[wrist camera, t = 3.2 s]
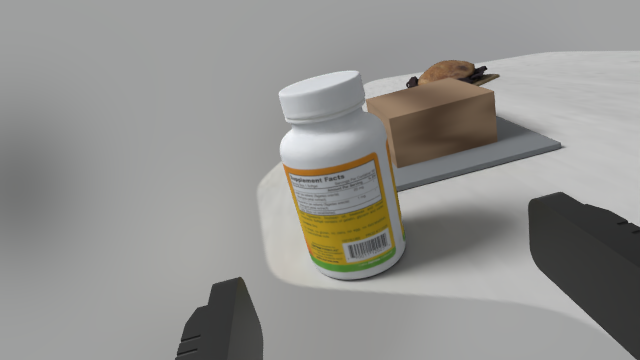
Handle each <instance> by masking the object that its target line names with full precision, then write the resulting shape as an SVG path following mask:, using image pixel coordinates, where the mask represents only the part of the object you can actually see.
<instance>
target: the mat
mask: <svg viewBox="0 0 640 360" xmlns="http://www.w3.org/2000/svg"><path fill="white" fill-rule="evenodd" d="M496 126H497V140H498V142H496V143H492V144H488V145H484V146H481V147H477V148H473V149H469V150H466V151H462V152H458V153H454V154H450V155H447V156H443V157H439V158H435V159H432V160H428V161H424V162H420V163H416V164H413V165H409V166H405V167H401V168H397V167H396V166H395V165H394V164H393V162H392V167H393V172H394V178H395V184H396V189H397V191H401V190H405V189H409V188H413V187H416V186H420V185H424V184H428V183H431V182H435V181H439V180H443V179H446V178H450V177H454V176H458V175H462V174H465V173H469V172H473V171H477V170H480V169H484V168H488V167H492V166H495V165H499V164H503V163H507V162H510V161H514V160H518V159H522V158H526V157H529V156H533V155H537V154H541V153H544V152H548V151H552V150H556V149H559V148H561V143H560V142H557V141H555V140H553V139H550V138H548V137H545V136H543V135H541V134H538V133H536V132H534V131H531V130H529V129H526V128H524V127H522V126H519V125H517V124H514V123H512V122H510V121H507V120H505V119H502V118H500V117H498V116H496Z"/></svg>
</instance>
